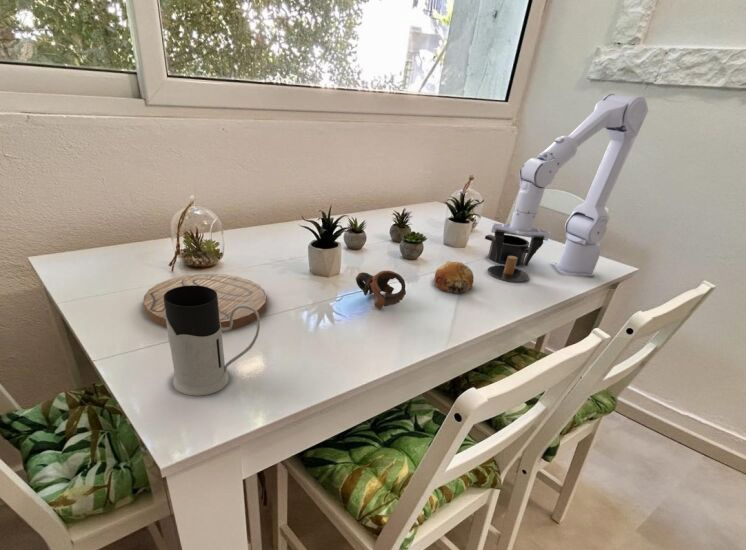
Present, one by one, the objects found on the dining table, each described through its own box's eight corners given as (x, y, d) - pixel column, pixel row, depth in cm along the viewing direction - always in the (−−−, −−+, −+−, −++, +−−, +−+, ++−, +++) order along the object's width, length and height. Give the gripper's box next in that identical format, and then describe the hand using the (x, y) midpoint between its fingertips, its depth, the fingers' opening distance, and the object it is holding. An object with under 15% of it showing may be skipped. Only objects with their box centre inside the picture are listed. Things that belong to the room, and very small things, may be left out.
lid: (500, 266, 134) (505, 247, 131) (535, 279, 128) (541, 260, 125) (478, 274, 128) (483, 254, 124) (514, 287, 121) (520, 267, 118)
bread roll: (470, 299, 121) (479, 269, 120) (466, 296, 112) (476, 263, 110) (434, 290, 124) (443, 261, 123) (427, 286, 115) (436, 254, 113)
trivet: (225, 343, 86) (224, 334, 85) (116, 314, 92) (114, 305, 91) (286, 295, 106) (286, 287, 104) (193, 273, 112) (192, 266, 110)
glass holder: (179, 365, 79) (166, 282, 70) (263, 366, 81) (261, 286, 72) (167, 395, 72) (151, 307, 63) (260, 396, 74) (256, 311, 65)
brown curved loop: (403, 296, 112) (413, 275, 104) (391, 326, 107) (402, 306, 100) (357, 277, 111) (365, 254, 104) (344, 306, 107) (351, 284, 100)
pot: (492, 250, 146) (497, 230, 142) (537, 266, 137) (544, 245, 133) (473, 256, 140) (478, 235, 136) (519, 273, 131) (526, 251, 127)
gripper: (497, 210, 115) (484, 262, 123) (557, 218, 113) (540, 271, 121) (496, 204, 121) (484, 254, 129) (553, 212, 119) (537, 262, 127)
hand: (511, 262), depth 125 cm, fingers open, 7 cm apart
